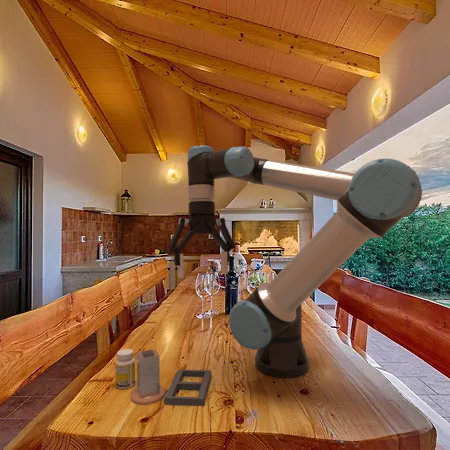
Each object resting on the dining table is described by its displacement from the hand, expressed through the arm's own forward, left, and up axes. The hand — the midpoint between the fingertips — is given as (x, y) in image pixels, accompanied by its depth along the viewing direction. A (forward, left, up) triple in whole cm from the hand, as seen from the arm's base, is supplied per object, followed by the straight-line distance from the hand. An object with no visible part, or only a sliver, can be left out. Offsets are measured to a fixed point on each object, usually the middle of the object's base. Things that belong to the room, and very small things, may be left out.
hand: (203, 275), depth 90 cm
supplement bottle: (+19, +10, -27) cm, 34 cm away
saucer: (+11, +15, -26) cm, 33 cm away
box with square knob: (+11, +15, -26) cm, 32 cm away
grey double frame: (+2, +12, -26) cm, 29 cm away
